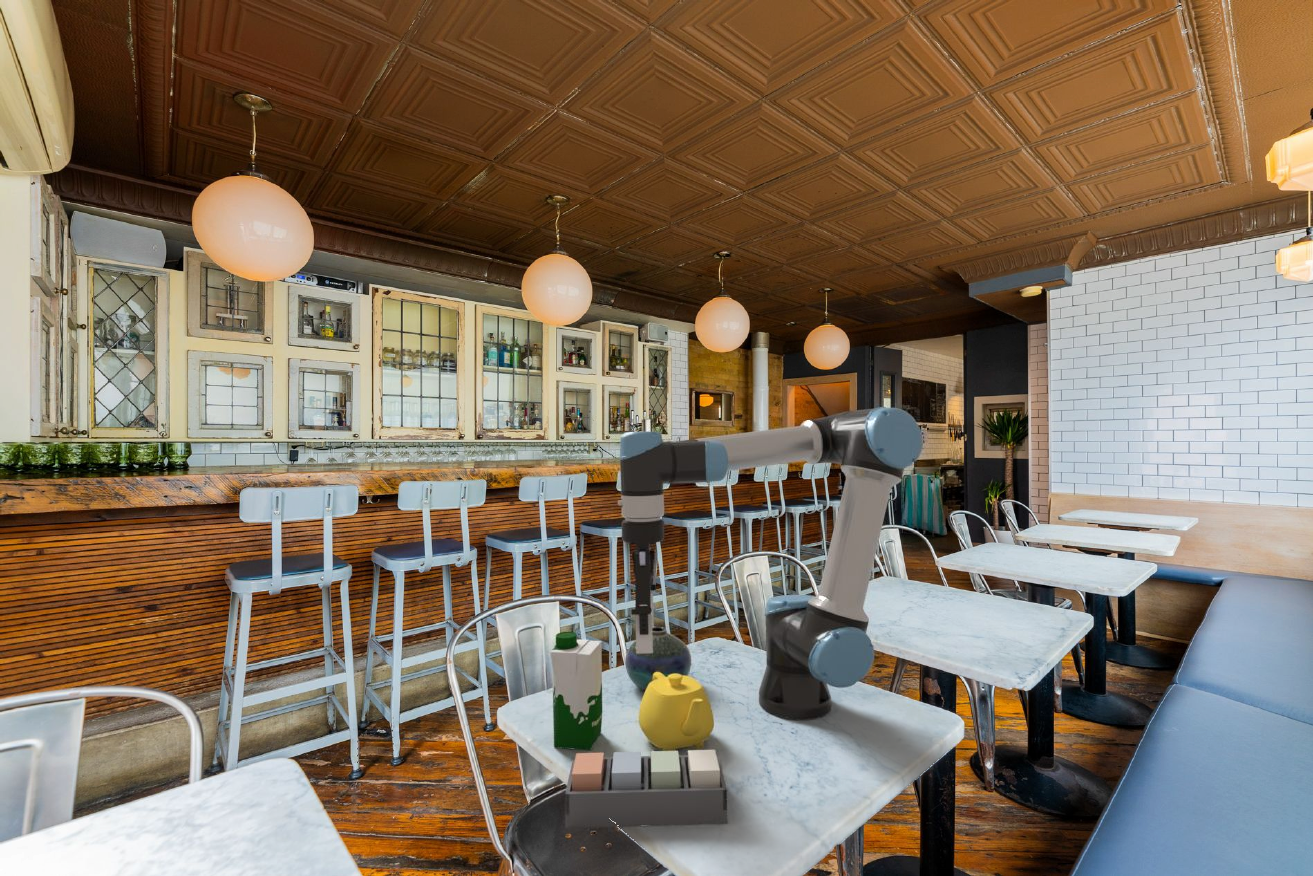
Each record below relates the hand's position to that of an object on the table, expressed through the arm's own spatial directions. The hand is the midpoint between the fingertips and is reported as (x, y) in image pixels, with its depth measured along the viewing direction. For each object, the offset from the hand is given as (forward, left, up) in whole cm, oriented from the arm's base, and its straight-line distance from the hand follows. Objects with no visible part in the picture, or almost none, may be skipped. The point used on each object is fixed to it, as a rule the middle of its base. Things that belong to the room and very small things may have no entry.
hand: (645, 639), depth 104 cm
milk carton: (+13, -9, -22) cm, 28 cm away
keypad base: (0, +12, -22) cm, 25 cm away
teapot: (-6, -7, -22) cm, 24 cm away
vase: (-3, -33, -22) cm, 40 cm away
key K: (+3, +12, -18) cm, 22 cm away
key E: (+9, +12, -18) cm, 24 cm away
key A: (-9, +12, -18) cm, 23 cm away
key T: (-3, +12, -18) cm, 22 cm away
